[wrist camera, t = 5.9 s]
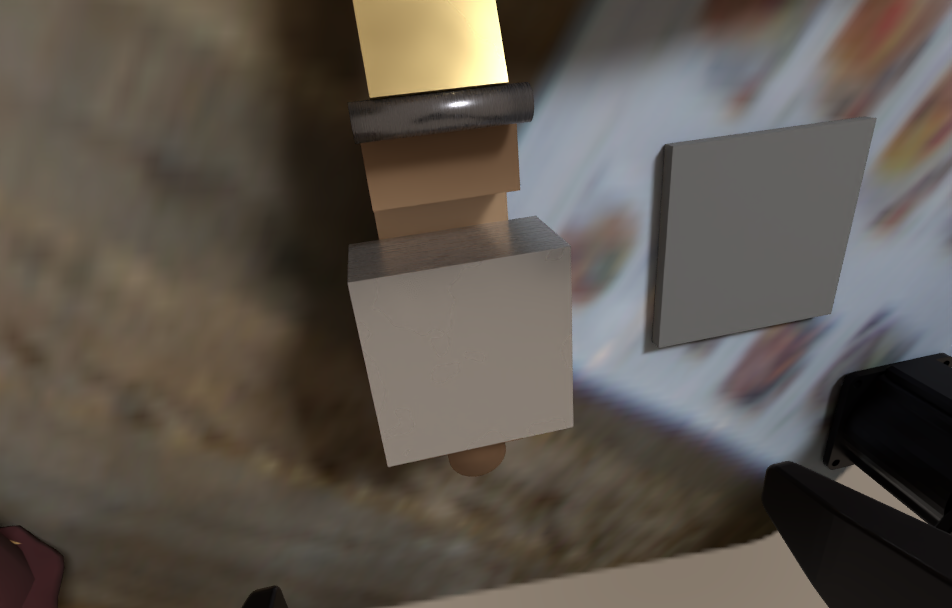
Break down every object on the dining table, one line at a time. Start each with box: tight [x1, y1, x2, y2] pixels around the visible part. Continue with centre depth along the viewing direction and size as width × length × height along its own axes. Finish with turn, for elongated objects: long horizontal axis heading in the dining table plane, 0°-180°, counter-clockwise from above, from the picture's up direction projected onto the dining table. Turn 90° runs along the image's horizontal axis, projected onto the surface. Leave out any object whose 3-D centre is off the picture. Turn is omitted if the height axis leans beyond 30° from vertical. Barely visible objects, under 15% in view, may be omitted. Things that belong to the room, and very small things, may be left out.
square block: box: [347, 216, 573, 467], centre depth 16 cm, size 6×6×3 cm
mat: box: [652, 117, 876, 348], centre depth 23 cm, size 9×9×1 cm
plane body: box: [360, 123, 523, 476], centre depth 18 cm, size 12×4×6 cm, turn 6°
